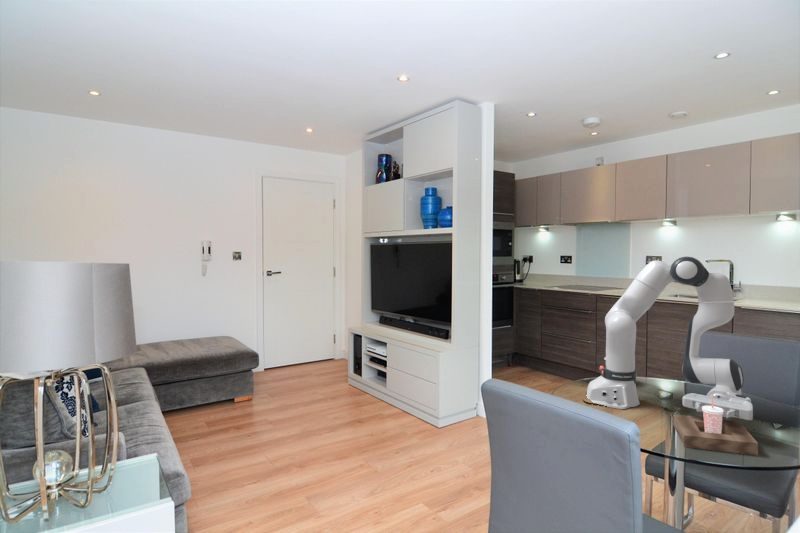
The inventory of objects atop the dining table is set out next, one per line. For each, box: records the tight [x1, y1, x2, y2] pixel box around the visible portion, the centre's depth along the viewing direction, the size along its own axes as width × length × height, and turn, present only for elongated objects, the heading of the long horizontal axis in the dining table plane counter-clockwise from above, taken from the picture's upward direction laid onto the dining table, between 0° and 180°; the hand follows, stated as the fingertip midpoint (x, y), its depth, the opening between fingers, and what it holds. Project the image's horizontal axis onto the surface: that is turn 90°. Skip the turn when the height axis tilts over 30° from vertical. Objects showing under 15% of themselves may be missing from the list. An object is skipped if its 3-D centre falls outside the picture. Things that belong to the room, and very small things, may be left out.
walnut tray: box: [672, 414, 759, 457], centre depth 151 cm, size 20×18×4 cm
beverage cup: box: [702, 394, 724, 434], centre depth 150 cm, size 6×6×14 cm
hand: (712, 412), depth 150 cm, fingers closed on beverage cup, 6 cm apart
